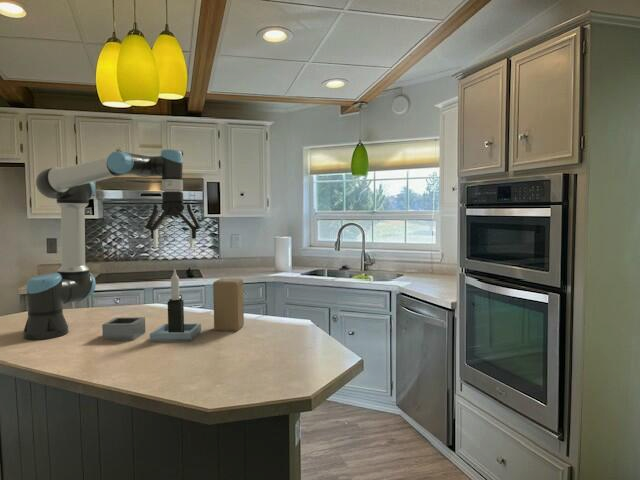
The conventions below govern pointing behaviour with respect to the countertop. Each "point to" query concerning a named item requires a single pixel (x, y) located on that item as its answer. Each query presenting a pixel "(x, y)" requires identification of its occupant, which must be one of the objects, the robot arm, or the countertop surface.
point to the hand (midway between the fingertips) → (174, 247)
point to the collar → (123, 328)
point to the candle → (175, 307)
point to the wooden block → (228, 304)
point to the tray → (188, 335)
